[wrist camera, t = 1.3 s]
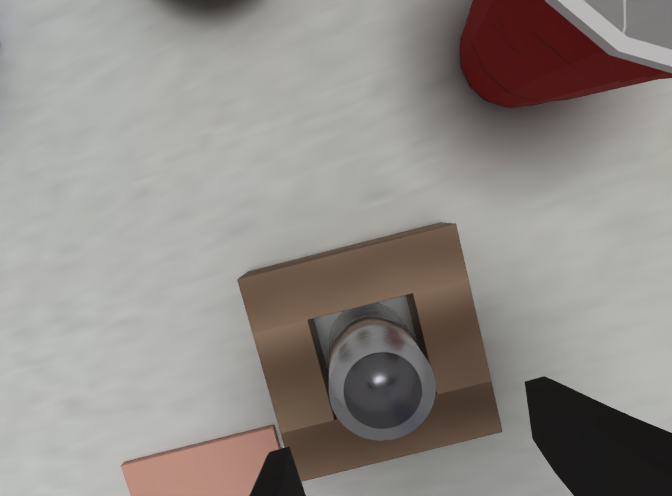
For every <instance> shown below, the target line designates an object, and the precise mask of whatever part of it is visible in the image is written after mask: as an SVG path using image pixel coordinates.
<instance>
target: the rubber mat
mask: <svg viewBox="0 0 672 496" xmlns="http://www.w3.org/2000/svg"><path fill="white" fill-rule="evenodd" d="M278 449H280V445H279V442H278V438H277V435H276V431H275V428H274V425H272V426H268V427H264V428H260V429H256V430H252V431H248V432H244V433H240V434H236V435H232V436H228V437H224V438H220V439H216V440H212V441H208V442H204V443H200V444H196V445H191V446H187V447H183V448H179V449H175V450H171V451H167V452H163V453H159V454H155V455H151V456H147V457H143V458H139V459H135V460H131V461H127V462H124V463H123V464H122V465H121V467H122V470H123V473H124V476H125V479H126V482H127V485H128V488H129V491H130V494H131V496H249V495H250V493H251V491H252V488H253V486H254V484H255V482H256V480H257V477H258V475H259V473H260V470H261V468H262V466H263V463H264V461H265V459H266V456H267V455H268V453H269V452H271V451H275V450H278Z"/></svg>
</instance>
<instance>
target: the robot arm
mask: <svg viewBox="0 0 672 496" xmlns="http://www.w3.org/2000/svg"><path fill="white" fill-rule="evenodd" d="M525 387H526V394H527V402H528V409H529V416H530V424H531V431H532V438H533V440H534V442H535V443H536V445H537V446H538V448H539V449H540V451H541V452H542V454H543V455H544V457H545V458H546V460H547V461H548V463H549V464H550V466H551V467H552V469H553V470H554V472H555V473H556V474H557V475H558V477H559V478H560V479H561V480H562V482H563V483H564V484H565V485H566V486H567V488H568V489H569V490H570V491H571V492H572V494H573V495H574V496H672V433H670V432H668V431H666V430H663V429H661V428H658V427H656V426H653V425H651V424H648V423H646V422H643V421H641V420H639V419H636V418H634V417H632V416H629V415H627V414H625V413H623V412H620V411H618V410H616V409H614V408H611V407H609V406H607V405H605V404H603V403H601V402H598V401H596V400H594V399H592V398H590V397H588V396H586V395H583V394H581V393H579V392H577V391H575V390H573V389H571V388H569V387H567V386H564V385H562V384H560V383H558V382H556V381H554V380H552V379H549V378H547V377H545V376H544V377H540V378H537V379H533V380H530V381H526V382H525ZM249 496H306V495H305V492H304V489H303V486H302V483H301V480H300V477H299V474H298V471H297V468H296V465H295V462H294V459H293V456H292V453H291V450H290V447H286V448H282V449H278V450H275V451H271V452H269V453H268V455H267V456H266V459H265V461H264V463H263V466H262V468H261V470H260V473H259V475H258V477H257V480H256V482H255V484H254V486H253V488H252V491H251V493H250V495H249Z"/></svg>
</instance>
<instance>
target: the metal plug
mask: <svg viewBox="0 0 672 496" xmlns="http://www.w3.org/2000/svg"><path fill="white" fill-rule="evenodd" d="M435 393H436V383H435V377H434V374H433V370H432V368H431V366H430V364H429V362H428V361H427V359H426V358H425V356H424V355H423V353H422V352H421V350H420V349H419V347H418V345H417V344H416V342H415V341H414V339H413V338H412V336H411V335H410V333H409V332H408V330H407V328H406V327H405V325H404V324H403V322H402V321H401V319H400V318H399V316H398V315H397V314H396V313H395V312H394V311H393V310H391V309H390V308H388V307H386V306H384V305H381V304H378V303H371V304H367V305H363V306H359V307H355V308H352V309H348V310H344V311H343V312H342V313H341V314H340V315H339V316H338V317H337V319H336V320H335V322H334V324H333V326H332V329H331V332H330V339H329V398H330V403H331V406H332V409H333V411H334V413H335V415H336V416H337V418H338V419H339V421H340V422H341V423H342V424H343V425H344V426H345V427H346V428H347V429H348V430H350V431H351V432H353V433H354V434H356V435H358V436H360V437H363V438H366V439H371V440H379V441H383V440H392V439H396V438H400V437H402V436H404V435H407V434H409V433H410V432H412V431H413V430H415V429H416V428H417V427H418V426H419V425H420V424H421V423H422V422H423V421H424V420H425V419H426V417H427V416H428V414H429V412H430V411H431V408H432V406H433V403H434V399H435Z"/></svg>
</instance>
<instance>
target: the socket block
mask: <svg viewBox="0 0 672 496" xmlns="http://www.w3.org/2000/svg"><path fill="white" fill-rule="evenodd" d="M237 280H238V284H239V287H240V291H241V294H242V298H243V301H244V305H245V309H246V312H247V316H248V319H249V323H250V326H251V330H252V333H253V337H254V340H255V344H256V347H257V351H258V354H259V358H260V361H261V365H262V368H263V372H264V375H265V379H266V382H267V386H268V389H269V393H270V396H271V400H272V403H273V407H274V411H275V414H276V418H277V421H278V425H279V428H280V432H281V435H282V439H283V442H284V446H285V448H286V447H290V450H291V453H292V456H293V459H294V462H295V465H296V468H297V471H298V474H299V477H300V480H301V482H302V481H306V480H310V479H314V478H318V477H322V476H326V475H330V474H334V473H338V472H342V471H346V470H350V469H354V468H358V467H362V466H366V465H370V464H374V463H378V462H382V461H386V460H390V459H394V458H399V457H403V456H407V455H411V454H415V453H419V452H423V451H427V450H431V449H435V448H439V447H443V446H447V445H451V444H455V443H459V442H463V441H467V440H471V439H475V438H479V437H483V436H487V435H491V434H495V433H500V432H502V427H501V423H500V418H499V414H498V409H497V405H496V401H495V396H494V392H493V387H492V383H491V378H490V374H489V369H488V365H487V360H486V356H485V351H484V347H483V342H482V338H481V333H480V329H479V324H478V320H477V316H476V311H475V307H474V302H473V298H472V293H471V289H470V284H469V280H468V275H467V271H466V266H465V262H464V257H463V253H462V248H461V244H460V240H459V235H458V231H457V226H456V224H453V223H442V222H441V223H437V224H433V225H429V226H425V227H421V228H417V229H413V230H409V231H405V232H402V233H398V234H394V235H390V236H386V237H382V238H378V239H374V240H370V241H366V242H362V243H358V244H354V245H351V246H347V247H343V248H339V249H335V250H331V251H327V252H323V253H319V254H315V255H311V256H307V257H303V258H300V259H296V260H292V261H288V262H284V263H280V264H276V265H272V266H268V267H264V268H260V269H256V270H253V271H249V272H247V273H246V274H244V275H243V276H242V277H240V278H239V279H237ZM403 295H406V296H407V300H408V304H409V308H410V312H411V317H412V321H413V325H414V329H415V333H416V337H417V342H418V346H419V349H420V350H421V352H422V353H423V355H424V356H425V358H426V359H427V361H428V362H429V364H430V366H431V368H432V370H433V374H434V377H435V383H436V393H435V399H434V403H433V406H432V408H431V411H430V412H429V414H428V416H427V417H426V419H425V420H424V421H423V422H422V423H421V424H420V425H419V426H418V427H417V428H416V429H415V430H413V431H412V432H410V433H409V434H407V435H404V436H402V437H400V438H396V439H392V440H383V441H379V440H371V439H366V438H363V437H360V436H358V435H356V434H354V433H353V432H351V431H350V430H348V429H347V428H346V427H345V426H344V425H343V424H342V423H341V422H340V421H339V419H338V418H337V416H336V415H335V413H334V411H333V409H332V406H331V403H330V398H329V376H328V372H327V369H326V365H325V361H324V357H323V354H322V350H321V346H320V342H319V339H318V335H317V331H316V327H315V324H314V320H313V318H316V317H320V316H324V315H328V314H332V313H336V312H340V311H344V310H348V309H352V308H355V307H359V306H363V305H367V304H371V303H375V302H379V301H383V300H387V299H391V298H395V297H399V296H403Z"/></svg>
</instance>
